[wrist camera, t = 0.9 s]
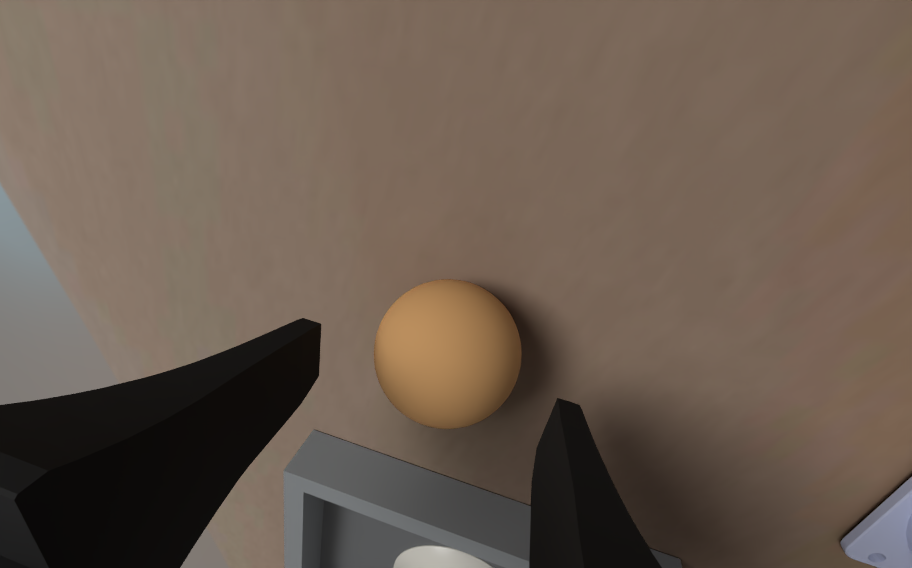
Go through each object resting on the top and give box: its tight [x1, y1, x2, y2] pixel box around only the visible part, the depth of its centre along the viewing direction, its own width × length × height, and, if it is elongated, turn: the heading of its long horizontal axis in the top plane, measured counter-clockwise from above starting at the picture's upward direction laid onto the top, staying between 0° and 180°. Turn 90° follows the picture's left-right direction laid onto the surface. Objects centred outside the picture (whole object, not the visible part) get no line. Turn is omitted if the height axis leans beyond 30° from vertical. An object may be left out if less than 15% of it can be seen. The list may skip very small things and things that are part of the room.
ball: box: [374, 279, 522, 429], centre depth 14 cm, size 5×5×5 cm
